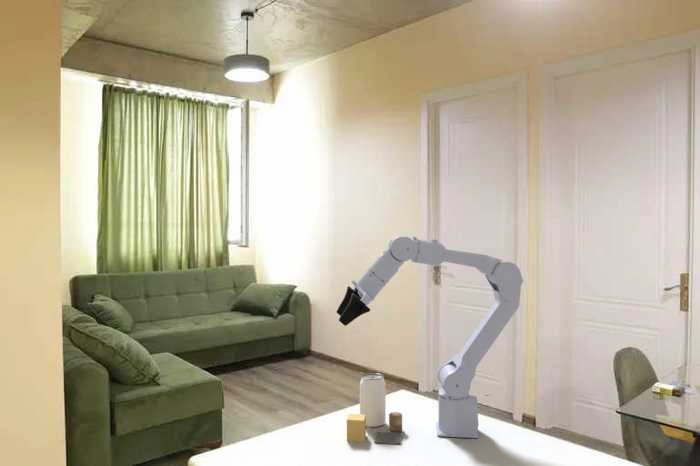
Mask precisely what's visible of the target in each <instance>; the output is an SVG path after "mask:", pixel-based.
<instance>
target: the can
mask: <svg viewBox="0 0 700 466" xmlns="http://www.w3.org/2000/svg"><path fill="white" fill-rule="evenodd" d="M384 377H385V376H384V375H383V374H382V373H376V372H374V373H373V372H370V373H369V372H368V373H363V374H362V375H361V379H360V382H359V414H362V415H366V428H380V427H383V426H384V425H385V424H386V380H385V378H384Z"/></svg>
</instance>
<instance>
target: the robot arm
mask: <svg viewBox="0 0 700 466" xmlns="http://www.w3.org/2000/svg"><path fill="white" fill-rule="evenodd" d="M388 243H389V244H388V247H387V248H386V249H385V250H384V251H383V252H382V254H380V255H379V256H378V257H377V258H376V260H375V261H373V263H372V264H371V265H370V266H369V268H368V269H367V270H366V271H365V272H364V274H362V276H361V277H360V278H359V279H358V280H357V281H355V279H352V280H351V284H353V285H354V287H353V288H352V287H350V286H349V285H347V288H346V292H345V294H344V297H343V299H342V301H341V302H340V304H339V306H338V307H337V309H336V314H338V316H339V319H338V321H339V323H341V324H342V325H343V326H345V327H346V326H348V325H349V324H350V323H352V322H353V321H355V320H356V319H357V318H358V317H361V316H362V315H364V314H366V313H369V312H370V311H371V308H370V307H369V304H371V302H373V301H375V298H376V297H377V296H378V294H380V292H381V291H382V290H383V289H384V287H385V286H386V285H388V283H389V281H390V280H392V279H393V277H394V276H395V275H396V274H397V273H398V271H399V269H400V268H401V266H402V265H403V264H404V263H405V262H407V261H411V262H412V263H417V264H423V265H430V266H435V267H439V266H440V265H442V264H443V263H451V264H456V265H461V266H464V267H465V266H466V267H472V268H475V269H476V270H477V271H479V272H480V273H481V274H484V276H485V278H486V280H487V282H488V283H489V285H490V287H491V288H492V292H493V296H494V300H495V302H494V303H493V304H492V306H491V308H489V310H488V311H487V313H486V314H485V316H484V317H483V319H482V320H481V322H480V323H479V324H478V326H477V327H476V328H475V330H474V331H473V332H472V334H471V336H469V338H468V340H466V343H465V344H464V346H463V347H462V348H461V350H460V351H459V352H458V353H457V354H455V355H454V356H453V357H452V358H450V360H449V361H448V362H446V363H445V364H443V365H442V366H440V368H439V369H438V371H437V379H438V382H439V383H440V385H441V387H440V389H439V390H438V421H437V422H436V435H437V436H438V437H447V438H449V437H450V438H467V439H478V438H479V407H478V406H479V404H478V397H477V396H476V395H471V394H469V393H470V392H469V391H470V390H471V384H472V382H473V379H475V376H476V372H477V367H478V365H479V364H480V362H481V361H482V359H484V357H485V355H486V354H487V353H488V352H489V349H490V348H491V347H492V346H493V344H494V343H495V341H496V340H497V339H498V337H499V336H500V334H501V333H502V331H503V330H504V329H505V327H506V326H507V325H508V323H509V322H510V320H511V319H512V318H513V316H514V314H515V313H516V312H517V310H518V309H519V308H520V303H521V301H520V300H521V290H522V289H521V288H522V285H523V283H524V279H523V276H522V273H521V270H520V268H519V267H518V265H516V264H515V263H513V262H511V261H504V260H502V259H500V258H498V257H494V256H490V255H487V254H484V253H476V252H468V251H463V250H454V249H447V248H446V247H445V246H444V244H443V243H442V242H438V239H435V238H434V239H433V238H432V239H431V240H426V239H420V238H419V239H418V238H417V236H412V237H409V236H396V237H394V238H393V239H391V240H390V242H388Z"/></svg>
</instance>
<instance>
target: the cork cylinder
mask: <svg viewBox="0 0 700 466" xmlns="http://www.w3.org/2000/svg"><path fill="white" fill-rule="evenodd" d="M388 432H395V433H401V434H402V433H403V413H401V412H397V411H396V412H395V411H394V412H390V413H389V414H388Z"/></svg>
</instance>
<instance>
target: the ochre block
mask: <svg viewBox="0 0 700 466" xmlns="http://www.w3.org/2000/svg"><path fill="white" fill-rule="evenodd" d="M366 430H367V427H366V415H362V414H360V413H359V414H358V413H348V415H347V419H346V442H358V443H359V442H360V443H365V438H366V435H367V434H366V433H367V431H366Z"/></svg>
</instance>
